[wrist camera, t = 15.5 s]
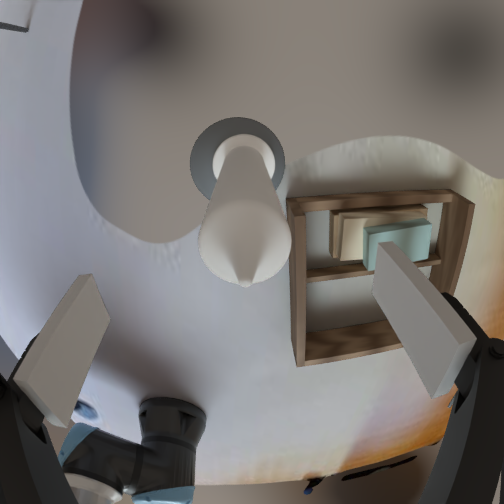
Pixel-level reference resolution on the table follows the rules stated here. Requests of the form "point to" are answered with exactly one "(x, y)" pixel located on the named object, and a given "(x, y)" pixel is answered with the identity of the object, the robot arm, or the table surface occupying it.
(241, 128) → the pad
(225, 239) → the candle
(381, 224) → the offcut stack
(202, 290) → the table surface
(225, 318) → the table surface
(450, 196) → the rack
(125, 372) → the table surface
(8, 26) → the juicer
